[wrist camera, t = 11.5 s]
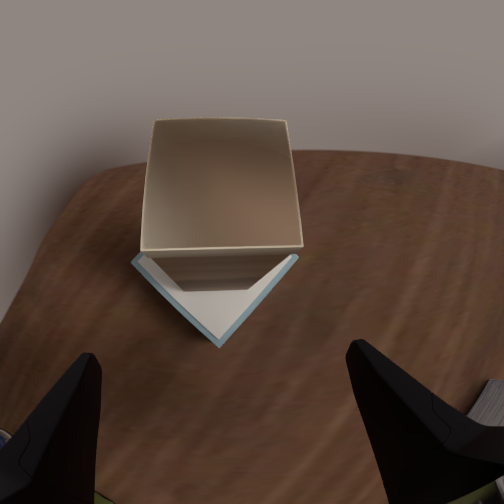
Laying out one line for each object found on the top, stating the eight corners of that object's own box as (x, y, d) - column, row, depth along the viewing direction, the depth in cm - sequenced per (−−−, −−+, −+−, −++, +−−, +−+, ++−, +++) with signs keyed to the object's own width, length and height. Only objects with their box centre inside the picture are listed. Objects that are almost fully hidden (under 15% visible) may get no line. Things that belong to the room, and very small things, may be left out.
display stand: (218, 342, 21) (219, 348, 17) (144, 272, 21) (129, 261, 17) (284, 267, 23) (300, 256, 19) (212, 203, 23) (213, 179, 19)
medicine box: (465, 441, 21) (510, 454, 12) (458, 424, 21) (508, 437, 13) (494, 396, 23) (539, 400, 14) (488, 377, 23) (537, 380, 15)
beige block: (248, 290, 18) (303, 246, 7) (183, 292, 17) (140, 251, 7) (245, 228, 19) (286, 120, 8) (183, 229, 18) (153, 119, 7)
